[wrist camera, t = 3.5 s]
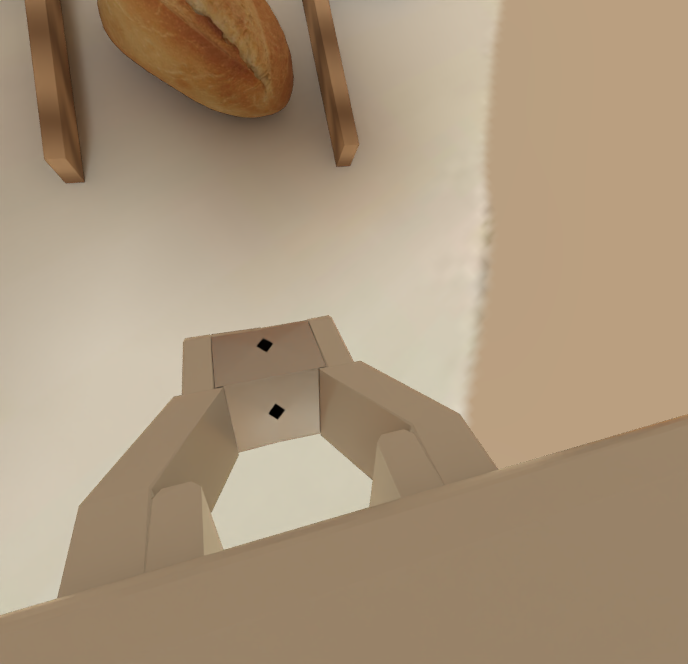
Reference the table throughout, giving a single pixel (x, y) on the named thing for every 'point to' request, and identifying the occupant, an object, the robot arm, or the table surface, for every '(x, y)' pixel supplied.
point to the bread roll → (207, 50)
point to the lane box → (60, 104)
